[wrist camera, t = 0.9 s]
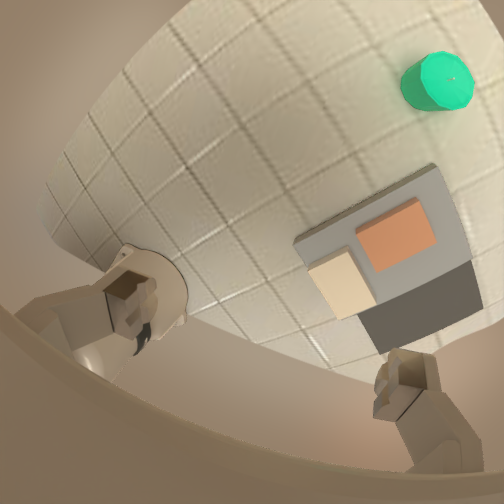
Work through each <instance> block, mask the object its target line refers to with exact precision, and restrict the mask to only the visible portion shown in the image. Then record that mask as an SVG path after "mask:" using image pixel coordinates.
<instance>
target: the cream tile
mask: <svg viewBox="0 0 504 504" xmlns="http://www.w3.org/2000/svg"><path fill="white" fill-rule="evenodd" d="M308 273H309V275H310V276H311V278H312V279H313V281H314V282H315V284H316V285H317V287H318V288H319V290H320V292H321V293H322V295H323V296H324V298H325V299H326V301H327V302H328V304H329V306H330V307H331V309H332V310H333V312H334V313H335V315H336V317H337V318H338V320H341V319H344V318H346V317H349V316H351V315H353V314H356V313H358V312H361V311H363V310H365V309H368V308H370V307H372V306H375V305H377V301H376V296H375V294H374V292H373V290H372V288H371V286H370V284H369V282H368V281H367V279H366V277H365V275H364V273H363V271H362V270H361V268H360V266H359V264H358V263H357V261H356V259H355V257H354V255H353V254H352V252H351V250H350V248H349V247H348V245H347V246H345V247H343V248H341V249H339V250H337V251H335V252H333V253H331V254H329V255H327V256H325V257H323V258H321V259H319V260H317V261H315V262H313V263H311V264H309V267H308Z"/></svg>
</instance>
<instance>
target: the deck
mask: <svg viewBox="0 0 504 504" xmlns="http://www.w3.org/2000/svg"><path fill="white" fill-rule="evenodd" d="M414 197H416V198H417V199H418V200H419V202H420V204H421V206H422V208H423V210H424V213H425V215H426V217H427V219H428V222H429V224H430V226H431V229H432V231H433V233H434V236H435V238H436V241H437V243H436V244H434V245H432V246H430V247H428V248H426V249H424V250H422V251H420V252H418V253H416V254H414V255H413V256H411V257H409V258H407V259H405V260H403V261H401V262H399V263H397V264H394V265H392V266H390V267H388V268H386V269H384V270H382V271H380V272H378V273H376V271H375V269H374V267H373V265H372V263H371V261H370V259H369V258H368V256H367V254H366V252H365V250H364V248H363V247H362V245H361V243H360V241H359V240H358V238H357V236H356V230H355V229H356V228H358V227H360V226H362V225H364V224H366V223H368V222H370V221H371V220H373V219H375V218H377V217H379V216H381V215H383V214H385V213H386V212H388V211H390V210H392V209H394V208H396V207H398V206H399V205H401V204H403V203H405V202H407V201H409V200H411V199H412V198H414ZM347 245H348V247H349V248H350V250H351V252H352V254H353V255H354V257H355V259H356V261H357V263H358V264H359V266H360V268H361V270H362V271H363V273H364V275H365V277H366V279H367V281H368V282H369V284H370V286H371V288H372V290H373V292H374V294H375V296H376V301H377V305H379V304H382V303H384V302H386V301H388V300H391V299H393V298H395V297H397V296H399V295H401V294H404V293H406V292H408V291H410V290H412V289H414V288H416V287H418V286H420V285H423V284H425V283H427V282H429V281H431V280H433V279H435V278H437V277H439V276H441V275H443V274H445V273H446V272H448V271H450V270H452V269H454V268H456V267H458V266H460V265H462V264H463V263H465V262H467V261H469V260H471V259H473V256H472V253H471V250H470V247H469V244H468V241H467V238H466V235H465V232H464V229H463V226H462V223H461V220H460V218H459V215H458V212H457V210H456V207H455V205H454V202H453V200H452V197H451V195H450V192H449V190H448V188H447V185H446V183H445V181H444V179H443V176H442V174H441V172H440V170H439V168H438V166H436V165H435V164H433V163H432V164H430V165H429V166H427V167H425V168H423V169H421V170H420V171H418V172H416V173H414V174H412V175H411V176H409V177H407V178H405V179H403V180H402V181H400V182H398V183H396V184H394V185H392V186H391V187H389V188H387V189H385V190H383V191H382V192H380V193H378V194H376V195H374V196H372V197H371V198H369V199H367V200H365V201H363V202H361V203H360V204H358V205H356V206H354V207H352V208H351V209H349V210H347V211H345V212H343V213H341V214H340V215H338V216H336V217H334V218H332V219H330V220H328V221H327V222H325V223H323V224H321V225H319V226H317V227H316V228H314V229H312V230H310V231H308V232H306V233H304V234H303V235H301V236H299V237H297V238H296V239H295V241H294V244H293V247H294V248H295V250H296V251H297V253H298V254H299V256H300V257H301V259H302V260H303V262H304V263H305V265H306V266H307V268H308V267H309V264H311V263H313V262H315V261H317V260H319V259H321V258H323V257H325V256H327V255H329V254H331V253H333V252H335V251H337V250H339V249H341V248H343V247H345V246H347ZM377 305H375V306H377ZM375 306H372V307H375ZM372 307H370V308H372ZM370 308H368V309H370ZM368 309H365V310H368ZM365 310H363V311H365ZM363 311H361V312H363ZM361 312H358V313H361ZM358 313H356V314H358ZM356 314H353V315H356ZM353 315H351V316H353ZM351 316H349V317H351ZM346 318H348V317H346ZM346 318H344V319H346ZM344 319H341V320H344Z"/></svg>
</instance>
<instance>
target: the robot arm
mask: <svg viewBox="0 0 504 504" xmlns="http://www.w3.org/2000/svg"><path fill="white" fill-rule="evenodd" d="M187 299H188V294H187V288H186V285H185V282H184V280H183V278H182V276H181V274H180V273H179V271H178V270H177V269H176V268H175V266H174V265H173V264H172V263H171V262H169V261H168V260H167V259H166V258H164V257H163V256H161V255H159V254H157V253H155V252H152V251H148V250H140V249H137V248H136V247H134V246H132V245H130V244H125V245H124V246H122V248H121V249H120V251H119V252H118V254H117V256H116V257H115V259H114V261H113V262H112V264H111V266H110V267H109V269H108V271H107V272H106V273H105V276H104V277H103V278H101V279H100V280H98V281H97V282H96V283H95V284H93V285H92V286H89V285H86V286H82V287H77V288H73V289H69V290H65V291H61V292H57V293H53V294H49V295H45V296H41V297H37V298H34V299H33V300H32V301H30V302H29V303H28V304H27V305H25V306H24V307H23V308H21V309H20V310H19V311H18V312H17V313H15V314H14V315H13V314H12V313H10V312H9V311H8V310H7V309H6V308H4V307H3V306H2V305H1V304H0V504H504V470H497V471H488V472H484V461H483V451H482V443H481V439H480V438H479V437H478V435H477V434H476V433H475V431H474V430H473V429H472V427H471V426H470V424H469V423H468V422H467V420H466V419H465V418H464V416H463V415H462V414H461V412H460V411H459V410H458V408H457V407H456V406H455V405H454V403H453V402H452V401H451V399H450V398H449V397H448V396H447V394H446V393H443V392H442V390H441V384H440V378H439V373H438V367H437V362H436V358H435V356H434V355H432V354H426V353H419V352H414V351H409V350H405V349H400V348H395V347H394V348H393V349H392V350H391V351H390V353H389V354H388V362H386V363H385V364H383V365H382V366H381V368H380V370H379V371H378V374H377V377H376V380H375V388H374V391H375V393H376V394H377V396H378V397H377V398H376V399H375V401H374V407H373V418H375V419H380V420H386V421H391V422H396V423H395V424H396V426H397V428H398V430H399V432H400V435H401V437H402V439H403V441H404V443H405V445H406V447H407V449H408V451H409V454H410V456H411V458H412V460H413V462H414V466H413V467H412V468H410V469H409V470H408V471H406V472H405V473H402V472H389V471H379V470H369V469H362V468H355V467H348V466H342V465H336V464H331V463H326V462H320V461H315V460H311V459H307V458H302V457H298V456H294V455H290V454H286V453H282V452H278V451H275V450H271V449H267V448H264V447H261V446H257V445H254V444H251V443H247V442H245V441H242V440H238V439H236V438H232V437H230V436H227V435H224V434H221V433H219V432H216V431H213V430H210V429H208V428H205V427H203V426H200V425H198V424H195V423H193V422H190V421H188V420H186V419H183V418H181V417H179V416H176V415H174V414H172V413H170V412H167V411H165V410H163V409H161V408H159V407H157V406H155V405H152V404H151V403H148V402H146V401H144V400H142V399H140V398H139V397H137V396H135V395H133V394H131V393H129V392H127V391H125V390H123V389H122V388H120V387H118V386H116V385H114V384H113V383H112V382H113V380H114V379H115V378H116V376H117V375H118V374H119V372H120V371H121V370H122V368H123V367H124V366H125V365H126V363H127V362H128V361H129V360H130V358H131V357H132V356H135V355H136V354H138V353H139V352H140V351H141V350H142V349H143V348H144V347H145V346H146V344H147V342H148V341H154V340H160V339H161V338H162V337H163V336H164V335H165V334H166V333H167V332H168V331H169V330H170V328H171V327H175V326H181V325H184V323H186V321H187V317H186V311H185V308H186V304H187Z"/></svg>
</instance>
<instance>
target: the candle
mask: <svg viewBox="0 0 504 504" xmlns="http://www.w3.org/2000/svg"><path fill="white" fill-rule="evenodd" d="M474 84H475V82H474V80H473V78H472V76H471V74H470V72H469V69H468V68H467V66H466V65H465V64H464V63H463V62H462V61H461V59H460V58H459V57H458V56H456V55H453V54H450V53H447V52H445V51H441V52H436V53H431V54H429V55H427V56H426V57H425V58H423V59H422V60H420V61H419V62H417V63H416V64H415V65H413V66H412V67H410V68H409V69H408V70H407V71H406V72H405V74H404V75H403V76H402V79H401V90H402V93H403V95H404V98H405V100H406V101H407V102H409V103H410V104H411V105H412V106H413V107H414V108H416V109H420V110H423V111H444V110H456V109H460V108H464V107H466V106H467V104H468V103H469V101H470V100H471V98H472V96H473V90H474Z"/></svg>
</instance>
